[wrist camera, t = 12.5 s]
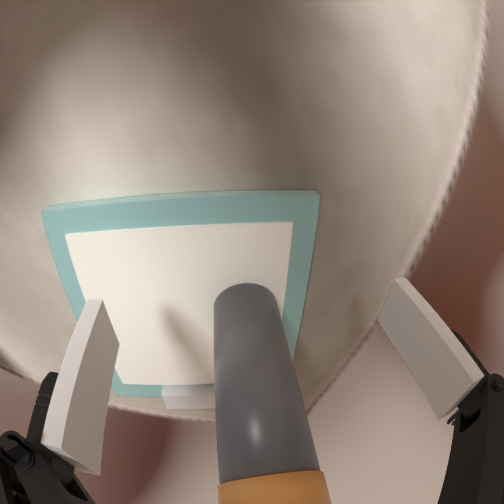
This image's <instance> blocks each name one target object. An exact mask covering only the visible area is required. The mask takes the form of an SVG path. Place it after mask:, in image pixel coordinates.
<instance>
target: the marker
mask: <svg viewBox="0 0 504 504" xmlns="http://www.w3.org/2000/svg"><path fill="white" fill-rule="evenodd" d="M214 381H215V410H216V431H217V448H218V449H217V450H218V466H219V480H220V485H219V486H218V501H219V504H331V500H330V496H329V492H328V488H327V485H326V480H325V477H324V473H323V472H322V471H320V467H319V463H318V459H317V455H316V451H315V447H314V443H313V439H312V435H311V431H310V427H309V423H308V419H307V415H306V411H305V407H304V403H303V400H302V396H301V392H300V388H299V384H298V380H297V376H296V373H295V369H294V365H293V361H292V357H291V354H290V350H289V346H288V342H287V339H286V335H285V331H284V327H283V324H282V320H281V316H280V312H279V309H278V305H277V301H276V298H275V296H274V294H273V293H272V292H271V291H270V290H269V289H267V288H266V287H264V286H261V285H258V284H253V283H241V284H236V285H233V286H231V287H229V288H227V289H225V290H224V291H222V292H221V293H220V294H219V295H218V297H217V298H216V300H215V302H214Z"/></svg>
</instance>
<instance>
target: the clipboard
mask: <svg viewBox="0 0 504 504" xmlns="http://www.w3.org/2000/svg"><path fill="white" fill-rule="evenodd" d="M319 204H320V195H319V194H318V193H316V192H315V191H313V190H243V191H209V192H188V193H171V194H156V195H143V196H131V197H120V198H110V199H100V200H91V201H83V202H75V203H67V204H60V205H53V206H48V207H47V208H46V209H45V210H43V211H42V212H41V213H42V218H43V222H44V226H45V230H46V234H47V237H48V241H49V244H50V248H51V251H52V254H53V258H54V261H55V264H56V267H57V270H58V273H59V276H60V279H61V281H62V284H63V287H64V289H65V292H66V295H67V297H68V300H69V302H70V305H71V307H72V310H73V312H74V314H75V317H76V319H77V321H78V320H79V318H80V315H81V313H82V310H83V308H84V306H85V304H86V301H87V300H97V299H103V302H104V305H105V307H106V310H107V313H108V316H109V318H110V321H111V324H112V326H113V329H114V331H115V334H116V336H117V339H118V341H119V343H120V345H119V350H118V354H117V359H116V363H115V368H114V373H113V378H112V384H111V387H112V388H113V390H114V392H115V393H116V395H117V396H130V397H157V398H162V399H163V401H164V403H165V406H166V408H167V409H211V408H215V381H214V302H215V300H216V298H217V297H218V295H219V294H220V293H221V292H222V291H224V290H225V289H227V288H229V287H231V286H233V285H236V284H241V283H253V284H258V285H261V286H264V287H266V288H267V289H269V290H270V291H271V292H272V293H273V294H274V296H275V298H276V301H277V305H278V309H279V312H280V316H281V320H282V324H283V327H284V331H285V335H286V339H287V342H288V346H289V350H290V354H291V357H292V361H293V358H294V353H295V348H296V344H297V339H298V334H299V329H300V324H301V319H302V313H303V308H304V302H305V297H306V291H307V285H308V280H309V274H310V267H311V261H312V255H313V248H314V241H315V234H316V227H317V220H318V212H319Z"/></svg>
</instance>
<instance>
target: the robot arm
mask: <svg viewBox="0 0 504 504" xmlns="http://www.w3.org/2000/svg"><path fill="white" fill-rule="evenodd" d="M378 322H379V323H380V325H381V326H382V328H383V329H384V331H385V333H386V334H387V336H388V337H389V338H390V340H391V342H392V343H393V345H394V346H395V348H396V350H397V351H398V353H399V354H400V356H401V357H402V359H403V361H404V362H405V364H406V366H407V367H408V369H409V370H410V372H411V374H412V375H413V377H414V379H415V380H416V382H417V384H418V385H419V387H420V389H421V390H422V392H423V394H424V396H425V397H426V399H427V401H428V403H429V404H430V406H431V408H432V410H433V411H434V413H435V415H436V417H437V419H438V420H439V419H441V418H443V417H445V416H446V415H448V414H450V413H451V412H452V411H453V409H455V408H456V407H457V406H458V408H459V409H458V410H457V411H456V413H455V414H453V415H452V416H451V417H450V418H449V420H448V422H447V424H449V423H451V422H452V421H453V420H454V419H455V421H453V423H452V425H454V433H453V440H452V446H451V451H450V457H449V461H448V466H447V471H446V475H445V479H444V483H443V487H442V491H441V494H440V497H439V501H438V504H504V378H502V376H500V375H498V374H491V375H490V374H489V373H488V372H487V371H486V369H485V368H484V366H483V365H482V363H481V362H480V361H479V359H478V358H477V357H476V355H475V354H474V353H473V351H471V349H470V348H469V346H468V345H466V342H465V341H464V340H463V339H462V337H461V336H460V335H459V334H458V333H456V332H455V331H454V330H452V329H449V328H448V326H447V325H446V324H445V323H444V322H443V321H442V319H441V318H440V317H439V315H438V314H437V313H436V312H435V311H434V310H433V308H432V307H431V306H430V305H429V304H428V303H427V301H426V300H425V299H424V298H423V297H422V296H421V295H420V293H419V292H418V291H417V290H416V289H415V288H414V287H413V286H412V284H411V283H410V282H409V281H408V280H407V279H406V278H405V277H404V278H397V279H393V282H392V285H391V288H390V291H389V293H388V296H387V299H386V301H385V304H384V306H383V309H382V311H381V314H380V316H379V319H378ZM119 345H120V343H119V341H118V339H117V336H116V334H115V331H114V329H113V326H112V324H111V321H110V318H109V316H108V313H107V310H106V307H105V305H104V302H103V299H97V300H87V301H86V304H85V306H84V308H83V310H82V313H81V315H80V318H79V320H78V322H77V325H76V327H75V330H74V332H73V335H72V337H71V340H70V343H69V345H68V348H67V351H66V354H65V356H64V359H63V362H62V365H61V368H60V371H59V373H56V372H49V373H48V375H47V376H46V377H45V379H44V380H43V381H42V384H41V387H40V390H39V396H38V397H37V400H36V405H35V406H34V410H33V414H32V418H31V421H30V425H29V429H28V434H27V437H26V439H25V438H24V437H22V436H21V435H20V434H19V433H17V432H15V431H7V432H5V433H4V434H2V435H1V436H0V504H95V502H94V501H93V500H92V498H91V497H90V495H89V494H88V493H87V491H86V490H85V488H84V487H83V485H82V484H81V483H80V481H79V479H78V478H77V476H76V475H75V474H74V467H75V468H77V469H78V470H80V471H81V472H86V473H90V474H95V475H100V467H101V455H102V445H103V436H104V428H105V421H106V413H107V407H108V401H109V395H110V389H111V384H112V378H113V373H114V368H115V363H116V359H117V354H118V350H119Z"/></svg>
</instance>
